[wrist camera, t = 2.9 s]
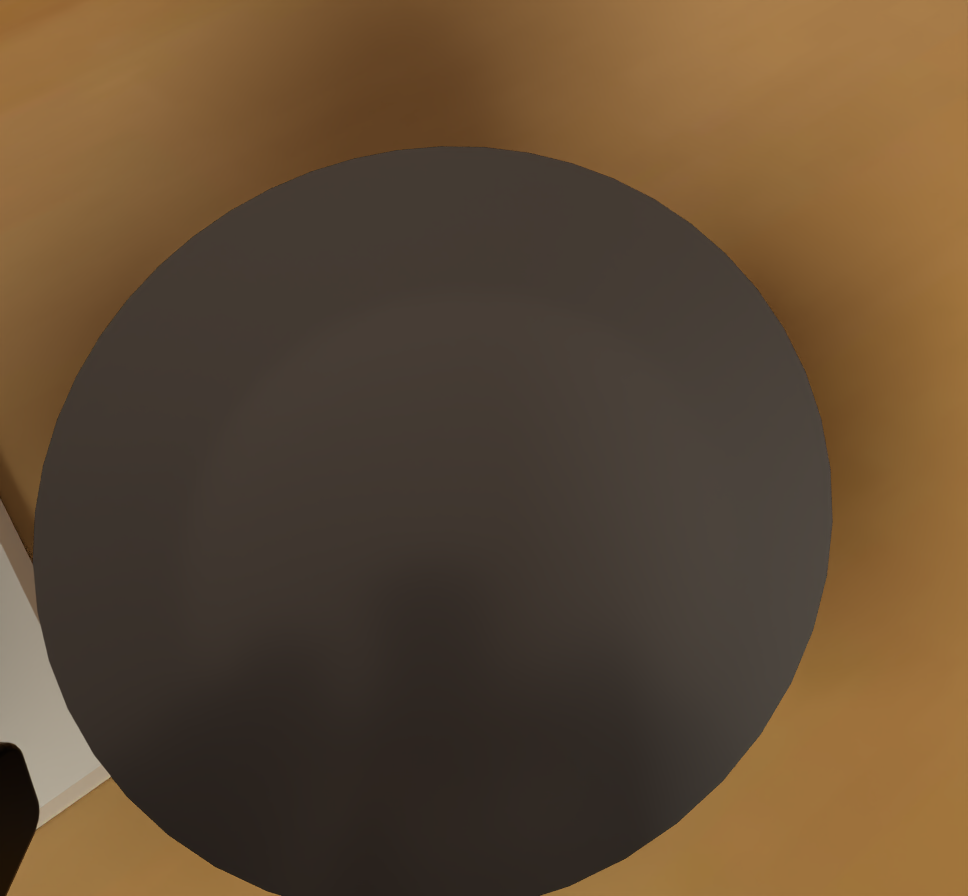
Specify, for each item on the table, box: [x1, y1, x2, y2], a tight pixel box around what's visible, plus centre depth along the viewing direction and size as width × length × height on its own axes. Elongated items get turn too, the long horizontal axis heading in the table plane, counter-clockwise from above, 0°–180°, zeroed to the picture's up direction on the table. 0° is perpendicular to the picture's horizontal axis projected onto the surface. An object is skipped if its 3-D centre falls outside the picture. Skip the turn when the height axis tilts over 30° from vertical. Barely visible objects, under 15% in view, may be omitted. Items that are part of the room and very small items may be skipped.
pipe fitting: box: [33, 146, 832, 896], centre depth 11 cm, size 7×7×13 cm
